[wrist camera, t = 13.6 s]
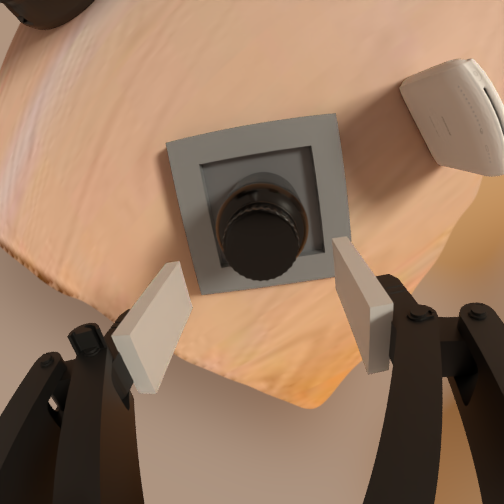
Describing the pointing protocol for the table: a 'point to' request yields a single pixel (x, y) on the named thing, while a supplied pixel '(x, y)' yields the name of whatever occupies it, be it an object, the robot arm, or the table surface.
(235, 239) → the supplement bottle
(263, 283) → the base plate
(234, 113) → the table surface
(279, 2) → the table surface
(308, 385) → the table surface
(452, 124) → the photo printer
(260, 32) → the table surface
